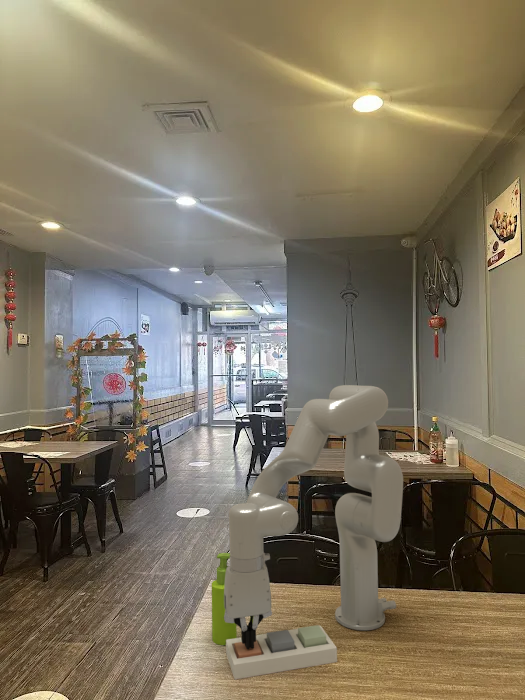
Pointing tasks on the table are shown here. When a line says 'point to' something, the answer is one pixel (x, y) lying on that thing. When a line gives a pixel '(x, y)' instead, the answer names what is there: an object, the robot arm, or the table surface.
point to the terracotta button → (246, 650)
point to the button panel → (279, 657)
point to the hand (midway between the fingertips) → (248, 645)
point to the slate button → (280, 641)
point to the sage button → (311, 636)
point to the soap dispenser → (221, 606)
